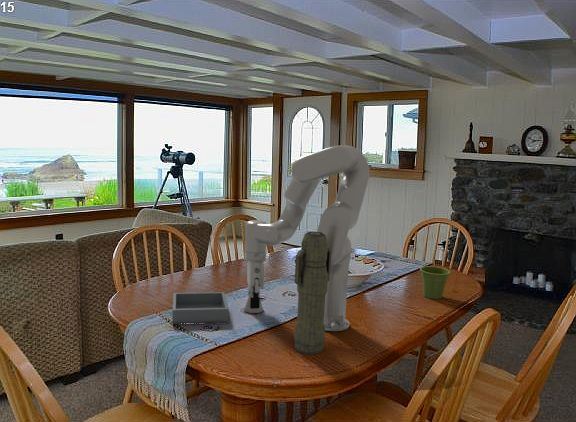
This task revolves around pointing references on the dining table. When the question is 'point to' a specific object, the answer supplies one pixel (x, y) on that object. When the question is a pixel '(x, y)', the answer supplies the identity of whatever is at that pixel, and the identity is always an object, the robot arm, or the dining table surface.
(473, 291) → the dining table surface
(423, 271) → the plant pot
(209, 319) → the bin
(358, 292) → the dining table surface
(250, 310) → the flask
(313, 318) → the grey stone statue
